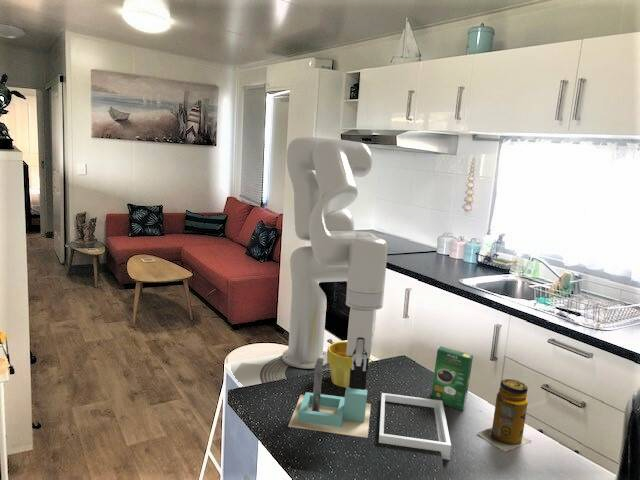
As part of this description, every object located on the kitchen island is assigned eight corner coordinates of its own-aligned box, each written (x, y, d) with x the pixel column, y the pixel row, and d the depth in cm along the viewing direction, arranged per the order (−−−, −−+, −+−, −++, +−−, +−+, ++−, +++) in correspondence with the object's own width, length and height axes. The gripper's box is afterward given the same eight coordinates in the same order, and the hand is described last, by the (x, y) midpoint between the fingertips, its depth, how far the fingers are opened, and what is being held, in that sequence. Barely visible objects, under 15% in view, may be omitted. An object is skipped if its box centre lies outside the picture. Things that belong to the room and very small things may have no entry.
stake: (313, 406, 109) (317, 357, 107) (320, 407, 109) (324, 358, 107) (309, 417, 104) (313, 367, 103) (317, 418, 104) (321, 368, 102)
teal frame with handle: (305, 400, 112) (307, 375, 111) (365, 408, 110) (368, 383, 109) (297, 421, 103) (299, 393, 102) (363, 430, 101) (365, 402, 100)
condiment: (530, 441, 104) (539, 387, 102) (505, 452, 99) (513, 396, 97) (501, 424, 110) (508, 373, 108) (475, 434, 105) (482, 381, 103)
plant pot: (368, 398, 118) (371, 359, 116) (324, 394, 118) (327, 355, 116) (365, 379, 128) (368, 342, 126) (325, 375, 128) (328, 339, 127)
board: (300, 400, 114) (300, 394, 114) (370, 410, 112) (370, 403, 112) (287, 433, 101) (288, 426, 100) (367, 444, 99) (367, 437, 98)
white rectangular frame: (380, 404, 115) (381, 392, 114) (440, 413, 113) (442, 400, 113) (378, 449, 97) (379, 435, 97) (449, 459, 95) (451, 445, 95)
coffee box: (467, 406, 117) (474, 353, 115) (464, 411, 115) (470, 357, 112) (433, 396, 121) (439, 345, 119) (430, 401, 118) (436, 348, 116)
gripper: (349, 287, 110) (344, 361, 112) (342, 307, 93) (336, 394, 95) (384, 290, 109) (378, 365, 111) (382, 311, 92) (375, 399, 94)
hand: (358, 378), depth 103 cm, fingers open, 9 cm apart
